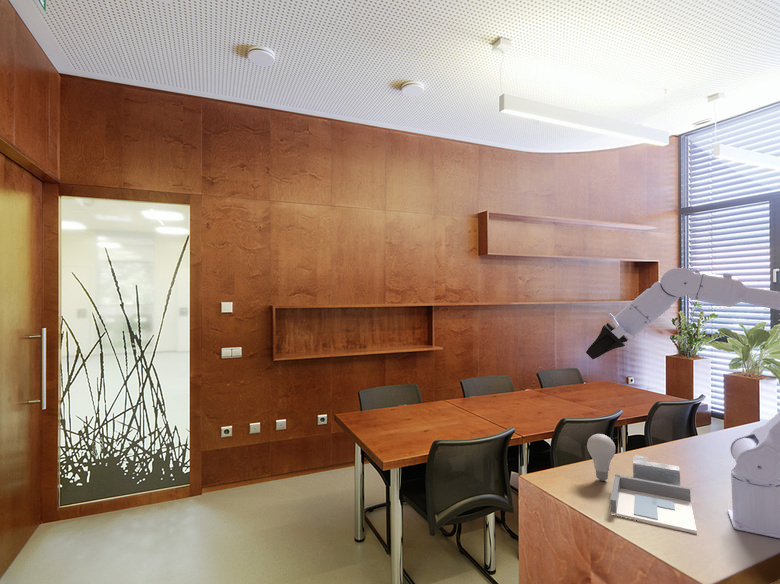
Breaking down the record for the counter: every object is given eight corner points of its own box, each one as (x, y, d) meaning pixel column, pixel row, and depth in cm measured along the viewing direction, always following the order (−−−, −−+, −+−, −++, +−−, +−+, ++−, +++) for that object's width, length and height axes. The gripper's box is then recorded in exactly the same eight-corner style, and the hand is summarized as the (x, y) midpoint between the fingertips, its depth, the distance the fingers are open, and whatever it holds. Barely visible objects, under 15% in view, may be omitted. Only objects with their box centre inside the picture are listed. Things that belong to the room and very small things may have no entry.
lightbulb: (582, 477, 102) (580, 432, 102) (601, 473, 104) (599, 429, 104) (603, 488, 96) (601, 439, 97) (622, 483, 98) (621, 436, 99)
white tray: (690, 502, 89) (689, 487, 89) (696, 534, 77) (696, 517, 77) (615, 488, 96) (615, 474, 96) (610, 515, 84) (610, 499, 84)
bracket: (678, 483, 98) (678, 461, 98) (680, 493, 93) (679, 470, 93) (634, 475, 103) (633, 455, 103) (633, 484, 98) (632, 463, 98)
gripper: (627, 298, 98) (582, 337, 103) (624, 300, 85) (573, 343, 90) (652, 320, 95) (605, 359, 100) (653, 325, 83) (598, 369, 88)
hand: (591, 353), depth 95 cm, fingers open, 7 cm apart
